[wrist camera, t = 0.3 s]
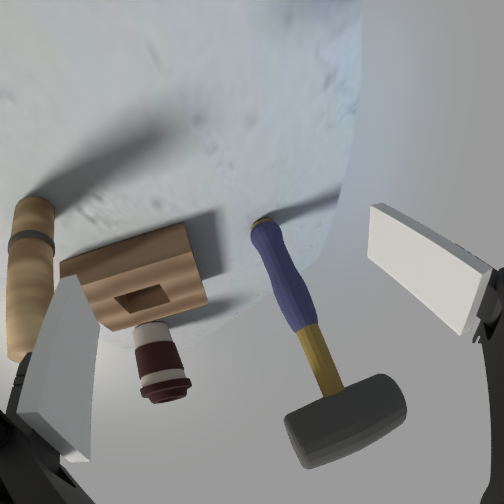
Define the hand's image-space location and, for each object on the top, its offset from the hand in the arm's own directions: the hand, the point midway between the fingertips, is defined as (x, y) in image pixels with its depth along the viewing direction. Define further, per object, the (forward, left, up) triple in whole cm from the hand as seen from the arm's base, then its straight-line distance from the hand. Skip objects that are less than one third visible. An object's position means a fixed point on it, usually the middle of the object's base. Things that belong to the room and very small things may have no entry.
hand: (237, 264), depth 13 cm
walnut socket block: (+25, -10, -15) cm, 31 cm away
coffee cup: (+47, -15, -16) cm, 52 cm away
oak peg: (+8, -16, -15) cm, 23 cm away
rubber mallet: (+22, +8, -16) cm, 28 cm away
